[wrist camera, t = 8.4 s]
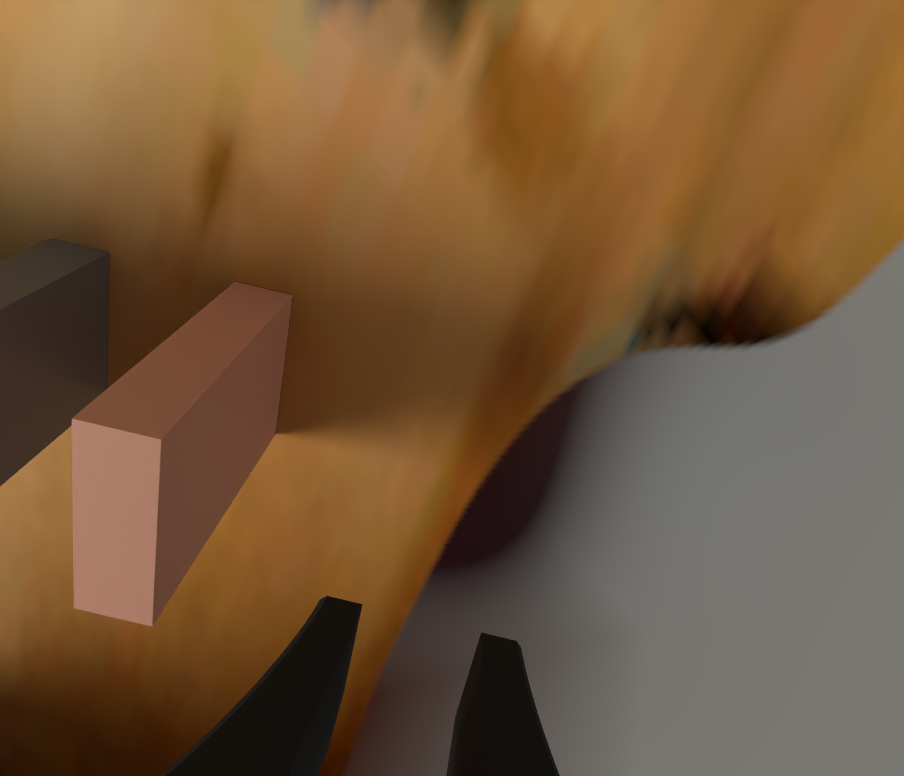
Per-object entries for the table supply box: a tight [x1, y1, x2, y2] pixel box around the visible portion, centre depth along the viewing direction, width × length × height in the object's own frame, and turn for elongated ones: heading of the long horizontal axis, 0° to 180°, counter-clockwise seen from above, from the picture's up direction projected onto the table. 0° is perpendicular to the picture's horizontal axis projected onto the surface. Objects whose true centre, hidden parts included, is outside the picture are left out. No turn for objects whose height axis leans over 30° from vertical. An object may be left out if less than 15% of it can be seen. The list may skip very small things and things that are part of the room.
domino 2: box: [72, 282, 293, 626], centre depth 18 cm, size 4×2×8 cm, turn 168°
